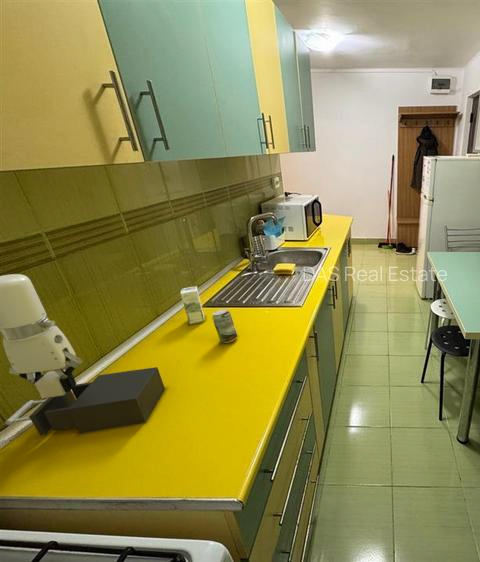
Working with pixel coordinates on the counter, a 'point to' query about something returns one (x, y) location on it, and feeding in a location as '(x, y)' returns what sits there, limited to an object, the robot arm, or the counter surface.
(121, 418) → the dark grey drawer box
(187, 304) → the syrup box
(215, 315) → the beverage can
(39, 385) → the block
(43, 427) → the dark grey drawer
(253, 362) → the counter surface
